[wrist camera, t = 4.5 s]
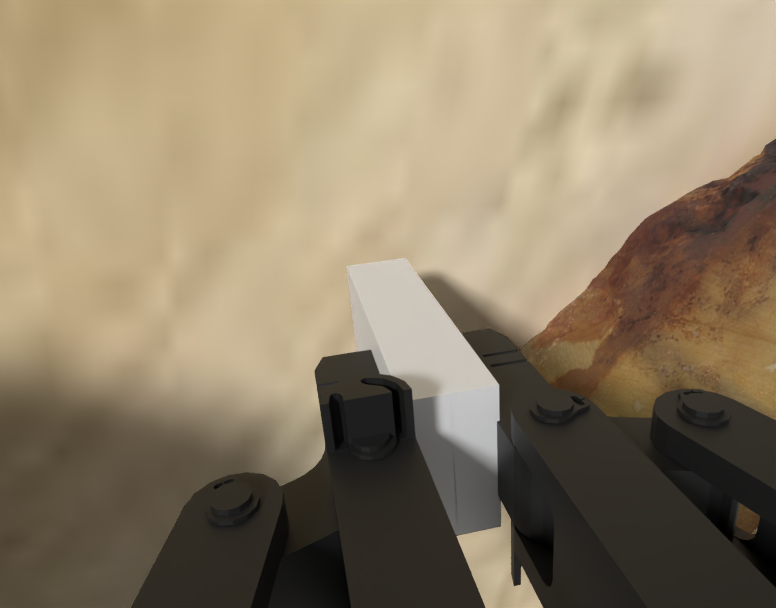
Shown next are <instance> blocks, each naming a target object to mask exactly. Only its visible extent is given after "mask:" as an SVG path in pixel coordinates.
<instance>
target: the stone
mask: <svg viewBox="0 0 776 608" xmlns="http://www.w3.org/2000/svg"><path fill="white" fill-rule="evenodd" d="M519 352H521V353H522V354H523V355H524V356H525V358H526V359H527V362H528V361H529V362H530V363H531V364H532V365H533V366H534V368H535V369H536V370H537V371H538V372H539V373H540V374H541V375H542V376H543V377H544V379H545V380H546V381H547V382H548V383H549V384H550V385H551V386H552V387H553V388H554V389H561V390H569V391H572V392H575V393H577V394H580V395H583V396H585V397H586V398H588V399H589V400H591V401H592V402H593V403H595V404H596V405H597V406H598V407H599V408H600V409H601V410H602V411H603V412H604V413H605V414H606V415H607V416H610V417H637V418H652V412H653V406H654V403H655V400H656V398H657V397H659V396H660V395H662V394H664V393H665V392H669V391H674V390H678V389H702V390H704V391H709V392H714V393H718V394H721V395H723V396H726V397H729V398H731V399H734V400H736V401H738V402H740V403H742V404H744V405H746V406H748V407H750V408H752V409H754V410H756V411H758V412H760V413H762V414H764V415H766V416H768V417H770V418H772V419H774V420H776V139H775V140H773V141H772V142H770V143H769V144H767V145H766V146H765V148H764V150H763V151H762V153H761V154H760V155H758V156H756V157H754V158H753V159H751V160H750V161H749V162H748V163H747V164H745V165H744V166H743V167H742V168H740V169H739V170H738V171H737V172H735V173H734V174H733V175H732V176H730V177H729V178H726V179H721V180H716V181H712V182H710V183H708V184H706V185H703V186H701V187H699V188H697V189H695V190H693V191H691V192H689V193H687V194H686V195H684V196H683V197H681V198H680V199H678V200H677V201H675V202H673V203H671V204H670V205H668V206H666V207H664V208H663V209H661V210H659V211H657V212H656V213H654V214H652V215H651V216H649V217H647V218H646V219H645V220H644V221H643V222H642V223H641V224H640V225H639V226H638V227H637V228H636V230H635V231H634V232H633V233H632V234H631V235H630V236H629V237H628V239H627V240H626V242H625V243H624V245H623V246H622V248H621V249H620V250H619V251H618V252H617V253H616V254H615V255H614V256H613V257H612V258H611V260H610V261H609V262H608V264H607V266H606V267H605V268H604V269H603V270H602V271H601V272H600V273H599V275H598V276H597V277H596V278H594V279H593V280H592V282H591V283H590V285H589V286H588V288H587V289H586V290H585V291H584V292H583V293H582V294H581V295H580V296H578V297H577V298H576V299H575V300H574V301H573V302H572V303H570V304H569V305H568V306H567V307H565V308H564V309H563V310H561V311H560V312H559V313H558V315H557V316H556V317H555V318H554V319H553V320H552V321H551V322H550V323H549V324H548V325H547V328H546V329H545V330H544V331H543V332H542V333H540V334H538V335H536V336H535V337H533V338H532V339H531V340H530V341H529V342H528V343H527V344H526V345H525V346H524V347H523V348H522V349H521V350H520V351H519ZM759 520H760V516H759V515H757V514H756V513H754V512H753V511H751V510H750V509H748V508H747V507H745V506H744V505H742V504H741V503H740V506H739V511H738V517H737V522H736V526H737V527H739V528H740V529H742V530H744V531H746V532H747V533H749V534H750V533H752V532H753V530H755V529H756V528H757V527H758V524H759Z"/></svg>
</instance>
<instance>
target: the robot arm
mask: <svg viewBox="0 0 776 608" xmlns="http://www.w3.org/2000/svg"><path fill="white" fill-rule="evenodd" d="M347 274H348V283H349V292H350V300H351V309H352V317H353V326H354V334H355V343H356V351H357V352H353V353H346V354H340V355H334V356H328V357H323V358H322V359H321V361H320V363H319V364H318V366H317V368H316V369H315V378H316V384H317V391H318V398H319V404H320V411H321V418H322V424H323V431H324V438H325V452H324V454H323V456H322V459H321V460H320V461H319V462H318V464H317V465H316V466H315V467H314V468H313V469H311V470H310V471H309V472H308V473H306V474H305V475H303V476H301V477H300V478H298V479H296V480H294V481H292V482H290V483H287V484H285V485H283V486H279V484H278V483H277V481H276V480H274V479H272V478H270V477H268V476H266V475H264V474H256V473H241V474H235V475H228V476H226V477H223V478H221V479H218V480H216V481H213V482H211V483H209V484H208V485H206V486H205V487H203V488H202V489H201V490H199V491H198V492H196V493H195V494H194V495H193V496H192V498H191V499H190V500H189V501H188V503H187V504H186V505H185V506H184V508H183V510H182V512H181V514H180V516H179V518H178V519H177V521H176V523H175V525H174V527H173V529H172V531H171V533H170V535H169V537H168V538H167V540H166V542H165V544H164V546H163V548H162V550H161V552H160V554H159V556H158V558H157V559H156V561H155V563H154V565H153V567H152V569H151V571H150V573H149V575H148V577H147V578H146V580H145V582H144V584H143V586H142V588H141V590H140V592H139V594H138V596H137V598H136V599H135V601H134V603H133V605H132V607H131V608H485V605H484V603H483V601H482V598H481V596H480V593H479V591H478V588H477V586H476V583H475V581H474V579H473V576H472V574H471V571H470V569H469V566H468V564H467V561H466V559H465V557H464V554H463V552H462V549H461V547H460V544H459V542H458V539H457V537H456V536H458V535H462V534H467V533H472V532H476V531H481V530H486V529H491V528H495V527H500V526H501V501H502V503H503V505H504V507H505V509H506V510H507V512H508V514H509V516H510V518H511V575H512V579H513V583H514V586H516V585H521V566H522V567H523V569H524V571H525V573H526V575H527V577H528V578H529V581H530V582H531V584H532V586H533V588H534V590H535V592H536V594H537V596H538V598H539V600H540V602H541V604H542V606H543V608H776V420H774V419H772V418H770V417H768V416H766V415H764V414H762V413H760V412H758V411H756V410H754V409H752V408H750V407H748V406H746V405H744V404H742V403H740V402H738V401H736V400H734V399H731V398H729V397H726V396H723V395H721V394H718V393H714V392H709V391H704V390H702V389H678V390H674V391H669V392H665V393H664V394H662V395H660V396H659V397H657V398H656V400H655V403H654V406H653V412H652V418H637V417H610V416H607V415H606V414H605V413H604V412H603V411H602V410H601V409H600V408H599V407H598V406H597V405H596V404H595V403H593V402H592V401H591V400H589V399H588V398H586V397H585V396H583V395H580V394H577V393H575V392H572V391H569V390H561V389H554V388H553V387H552V386H551V385H550V384H549V383H548V382H547V381H546V380H545V379H544V377H543V376H542V375H541V374H540V373H539V372H538V371H537V370H536V369H535V368H534V366H533V365H532V364H531V363H530V362H529V361H528V362H527V359H526V358H525V356H524V355H523V354H522V353H521V352H518V349H517V348H516V346H515V345H514V344H513V343H512V342H511V341H510V340H509V339H508V338H507V337H505V336H503V335H501V334H499V333H497V332H495V331H493V330H490V329H484V330H478V331H472V332H465V333H460V331H459V330H458V328H457V327H456V326H455V324H454V323H453V322H452V320H451V319H450V318H449V316H448V315H447V314H446V312H445V311H444V310H443V308H442V307H441V305H440V304H439V303H438V301H437V300H436V299H435V297H434V296H433V295H432V293H431V292H430V291H429V289H428V288H427V287H426V285H425V284H424V283H423V281H422V280H421V278H420V277H419V276H418V274H417V273H416V272H415V270H414V269H413V268H412V266H411V265H410V264H409V262H408V261H407V260H406V258H400V259H393V260H385V261H378V262H371V263H364V264H357V265H350V266H347ZM740 503H741V504H742V505H744V506H745V507H747V508H748V509H750V510H751V511H753V512H754V513H756V514H757V515H759V516H760V520H759V524H758V529H757V533H756V535H755V534H749V533H747V532H746V531H744V530H742V529H740V528H739V527H737V526H736V522H737V517H738V511H739V506H740Z"/></svg>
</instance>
